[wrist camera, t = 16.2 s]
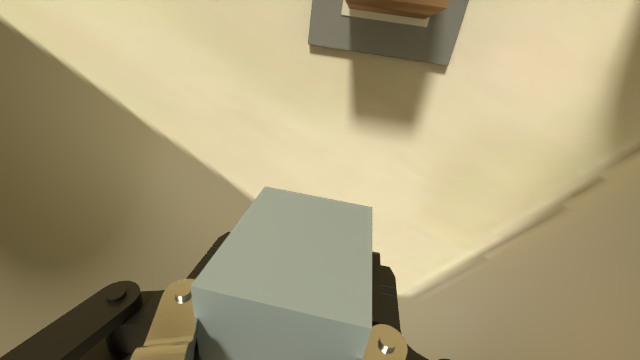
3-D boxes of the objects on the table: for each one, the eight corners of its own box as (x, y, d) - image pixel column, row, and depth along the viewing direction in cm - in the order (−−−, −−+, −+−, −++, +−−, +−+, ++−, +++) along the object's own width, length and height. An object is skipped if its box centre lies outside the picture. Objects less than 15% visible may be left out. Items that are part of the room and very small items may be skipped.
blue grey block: (372, 207, 12) (372, 329, 7) (352, 286, 15) (341, 422, 9) (265, 186, 13) (190, 286, 8) (262, 266, 15) (202, 385, 10)
